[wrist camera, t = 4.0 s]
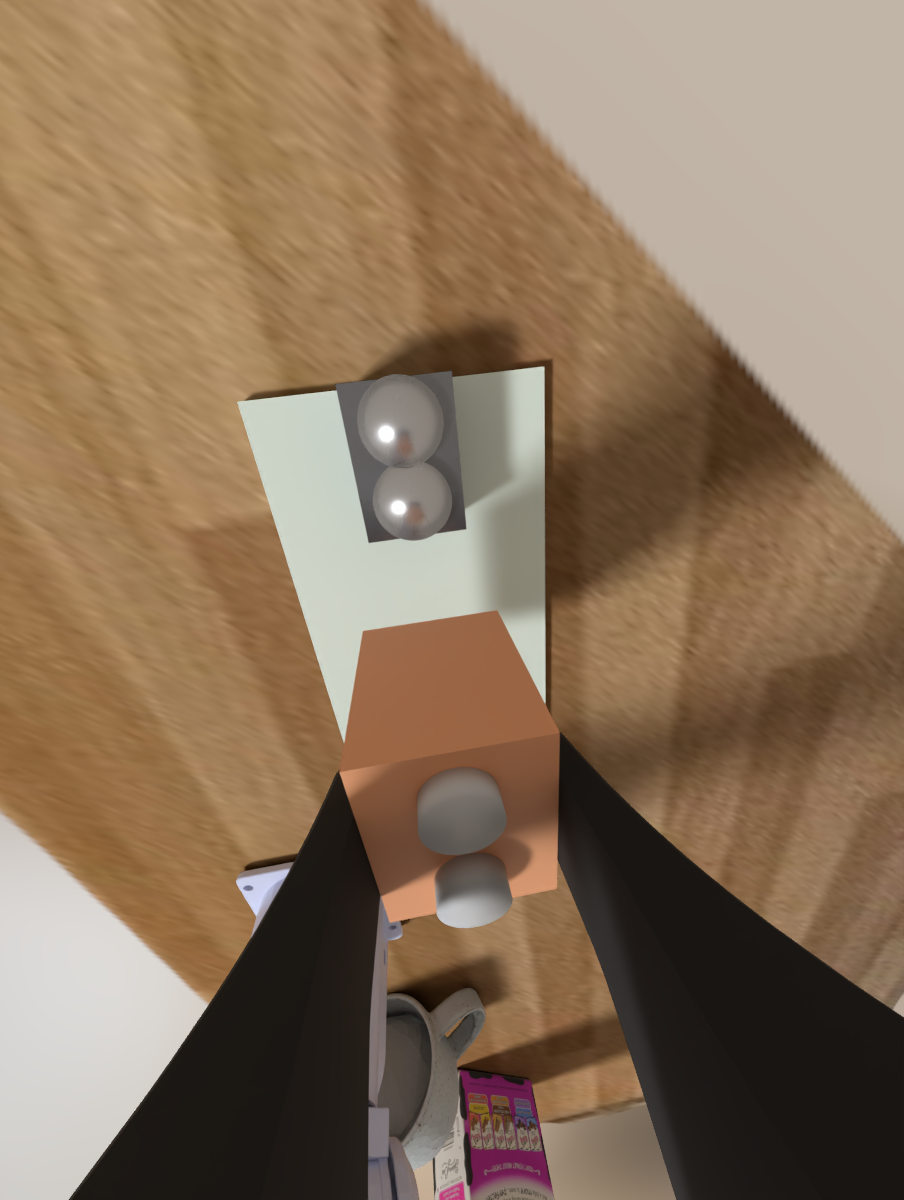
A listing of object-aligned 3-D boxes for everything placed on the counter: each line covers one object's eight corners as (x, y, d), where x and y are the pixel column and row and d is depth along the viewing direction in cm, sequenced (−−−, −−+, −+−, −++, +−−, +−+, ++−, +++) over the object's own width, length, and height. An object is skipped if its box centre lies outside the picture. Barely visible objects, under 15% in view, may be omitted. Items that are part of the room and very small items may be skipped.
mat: (543, 749, 21) (545, 755, 21) (359, 782, 20) (358, 789, 20) (540, 367, 13) (544, 366, 13) (241, 402, 13) (237, 401, 12)
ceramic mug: (379, 1044, 34) (377, 1201, 27) (338, 1009, 31) (323, 1180, 24) (492, 1004, 34) (518, 1152, 27) (465, 965, 31) (487, 1124, 24)
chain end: (457, 515, 15) (468, 533, 12) (373, 527, 14) (368, 547, 12) (443, 376, 13) (452, 367, 10) (344, 387, 12) (332, 380, 10)
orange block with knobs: (505, 734, 14) (566, 917, 9) (392, 754, 14) (389, 954, 8) (497, 610, 12) (573, 759, 7) (362, 630, 11) (334, 802, 6)
